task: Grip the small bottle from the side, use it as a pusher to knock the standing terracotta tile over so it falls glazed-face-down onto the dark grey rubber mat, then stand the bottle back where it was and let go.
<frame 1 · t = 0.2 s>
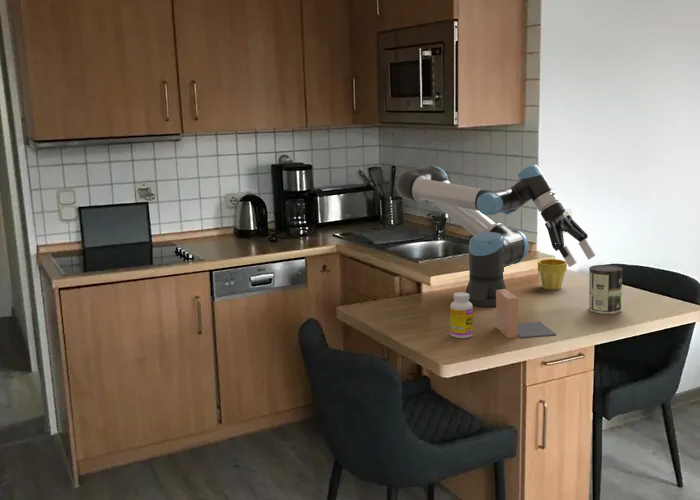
hand: (582, 261, 251), 15 cm above the countertop, tool tilted 35°, fingers open, 13 cm apart
coffee can: (604, 310, 249), on the countertop
supplement bottle: (461, 336, 228), on the countertop
tile: (506, 332, 229), on the countertop
plant pot: (551, 288, 280), on the countertop
mat: (530, 330, 230), on the countertop
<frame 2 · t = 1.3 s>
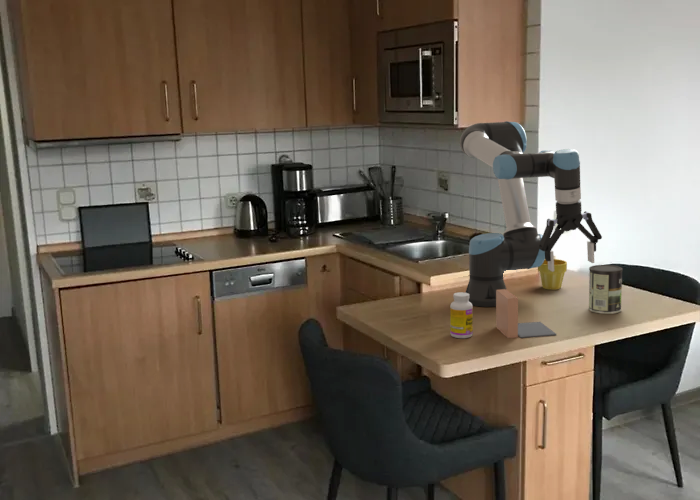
hand: (571, 266, 238), 17 cm above the countertop, tool pointing down, fingers open, 13 cm apart
nothing on the countertop moved.
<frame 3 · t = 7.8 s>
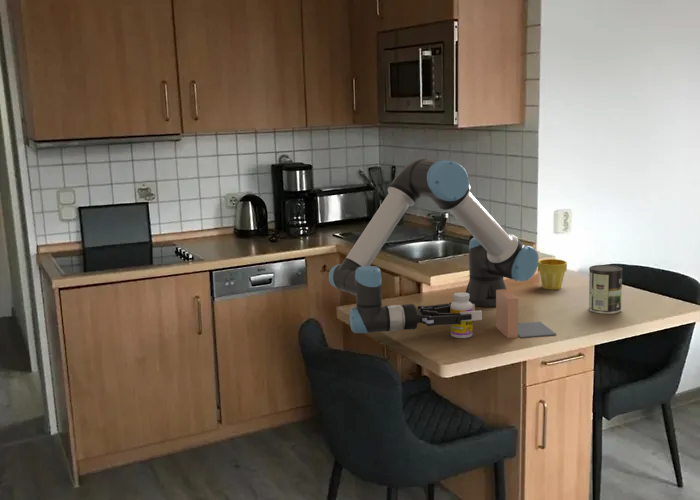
hand: (477, 311, 227), 7 cm above the countertop, tool horizontal, fingers closed on supplement bottle, 7 cm apart
supplement bottle: (461, 336, 228), on the countertop, touching gripper
everything else where it was.
when the fingers open (8 cm above the countertop, at t = 16.2 s): supplement bottle stays where it is, on the countertop.
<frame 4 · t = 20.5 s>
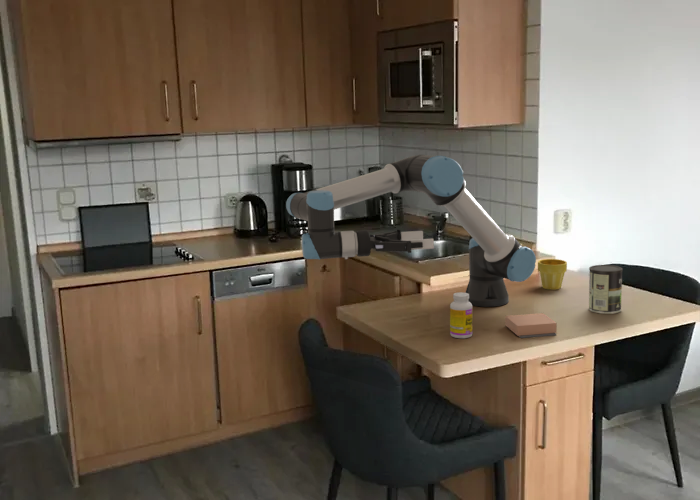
hand: (428, 239, 221), 30 cm above the countertop, tool horizontal, fingers open, 13 cm apart
supplement bottle: (461, 336, 228), on the countertop
tile: (511, 325, 229), point 2 cm above the countertop, tilted 90°, touching mat
everything else where it was.
at the end: tile tilted 90°; supplement bottle tilted 0°; the gripper is holding nothing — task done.
